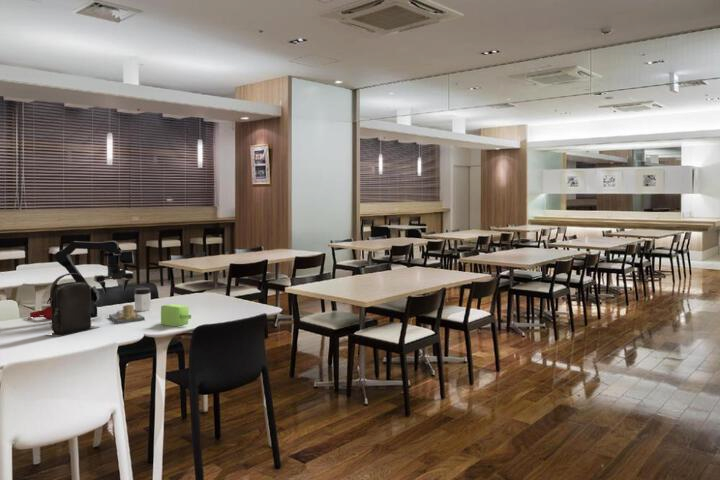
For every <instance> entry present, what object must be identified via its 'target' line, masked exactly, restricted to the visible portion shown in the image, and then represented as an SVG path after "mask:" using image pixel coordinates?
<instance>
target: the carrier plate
mask: <svg viewBox="0 0 720 480" xmlns="http://www.w3.org/2000/svg"><path fill="white" fill-rule="evenodd" d="M135 313H136V314H138V317H136V318H134V319H120V318H119V315H122V314H123V309H121V310H117V311H116V313H115V314H114V313H113V314H109V315H108V317H109V319H110V320H111V321H114V322H115V323H116V324H117V325H119V324H127V323H133V322H134V323H135V322H140V321H142V320H143V321H146V319H145V316H143V315H141V314H139V313H138V312H137V311H134V314H135Z"/></svg>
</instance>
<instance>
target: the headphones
mask: <svg viewBox="0 0 720 480" xmlns="http://www.w3.org/2000/svg"><path fill="white" fill-rule="evenodd" d="M29 317H33V318H32V319H35V318H45V319H46V320H47V319H49V320H48V321H51V320H50V319H51V305H50V306H47V307H45V308H44V309H42V310H35V311H33V312H29Z"/></svg>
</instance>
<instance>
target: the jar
mask: <svg viewBox="0 0 720 480" xmlns="http://www.w3.org/2000/svg"><path fill="white" fill-rule="evenodd" d="M151 301H152V300H151V288H150V287H137V288H135V289H134V312H146V311H147V312H148V311H150V310H151V309H152V305H151V304H152V302H151Z"/></svg>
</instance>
